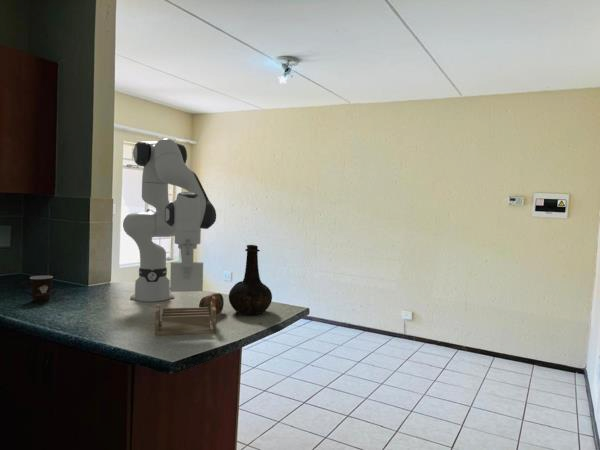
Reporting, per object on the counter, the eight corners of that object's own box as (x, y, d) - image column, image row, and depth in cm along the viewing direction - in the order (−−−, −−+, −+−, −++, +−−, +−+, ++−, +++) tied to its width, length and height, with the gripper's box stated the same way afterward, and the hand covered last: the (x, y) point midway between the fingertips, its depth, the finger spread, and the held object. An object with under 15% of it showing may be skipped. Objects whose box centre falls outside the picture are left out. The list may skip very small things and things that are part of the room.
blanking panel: (170, 290, 157) (170, 262, 157) (202, 290, 160) (202, 262, 160) (170, 291, 155) (170, 263, 155) (202, 291, 158) (203, 263, 158)
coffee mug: (54, 297, 198) (54, 275, 197) (50, 302, 190) (50, 278, 189) (24, 298, 194) (24, 275, 194) (19, 303, 186) (19, 279, 185)
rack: (156, 324, 162) (157, 294, 162) (212, 322, 167) (213, 293, 167) (155, 335, 150) (155, 302, 149) (215, 332, 155) (216, 301, 154)
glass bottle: (250, 305, 197) (252, 242, 196) (280, 312, 186) (282, 245, 184) (219, 312, 183) (220, 244, 182) (249, 320, 172) (251, 248, 171)
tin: (204, 320, 170) (204, 298, 170) (197, 319, 171) (197, 297, 171) (224, 312, 184) (224, 291, 184) (217, 311, 185) (218, 291, 185)
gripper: (198, 241, 148) (197, 283, 148) (195, 236, 167) (195, 273, 168) (178, 241, 146) (177, 283, 147) (178, 236, 166) (177, 273, 166)
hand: (186, 277), depth 158 cm, fingers closed on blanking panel, 2 cm apart
